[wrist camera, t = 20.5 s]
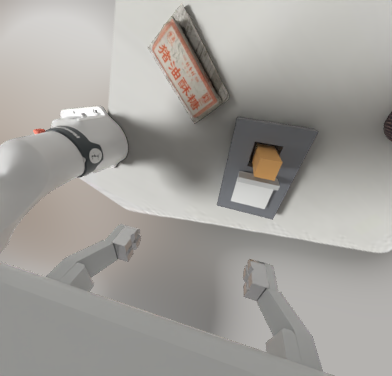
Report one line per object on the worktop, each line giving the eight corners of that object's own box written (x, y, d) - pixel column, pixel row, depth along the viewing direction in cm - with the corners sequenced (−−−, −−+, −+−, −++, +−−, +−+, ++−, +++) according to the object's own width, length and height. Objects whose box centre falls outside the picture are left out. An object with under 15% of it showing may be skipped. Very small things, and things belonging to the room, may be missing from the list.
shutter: (231, 199, 44) (230, 207, 41) (239, 170, 39) (238, 177, 36) (264, 207, 42) (265, 216, 39) (277, 178, 37) (280, 186, 34)
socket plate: (218, 199, 49) (216, 205, 46) (237, 116, 36) (236, 118, 33) (271, 212, 46) (272, 219, 44) (313, 128, 33) (318, 131, 31)
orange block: (252, 158, 40) (253, 176, 32) (257, 143, 38) (260, 158, 29) (268, 162, 39) (274, 180, 31) (274, 146, 37) (282, 162, 29)
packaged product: (229, 98, 31) (190, 127, 35) (231, 97, 35) (195, 123, 39) (174, -8, 25) (137, 43, 30) (184, 5, 29) (149, 48, 34)
